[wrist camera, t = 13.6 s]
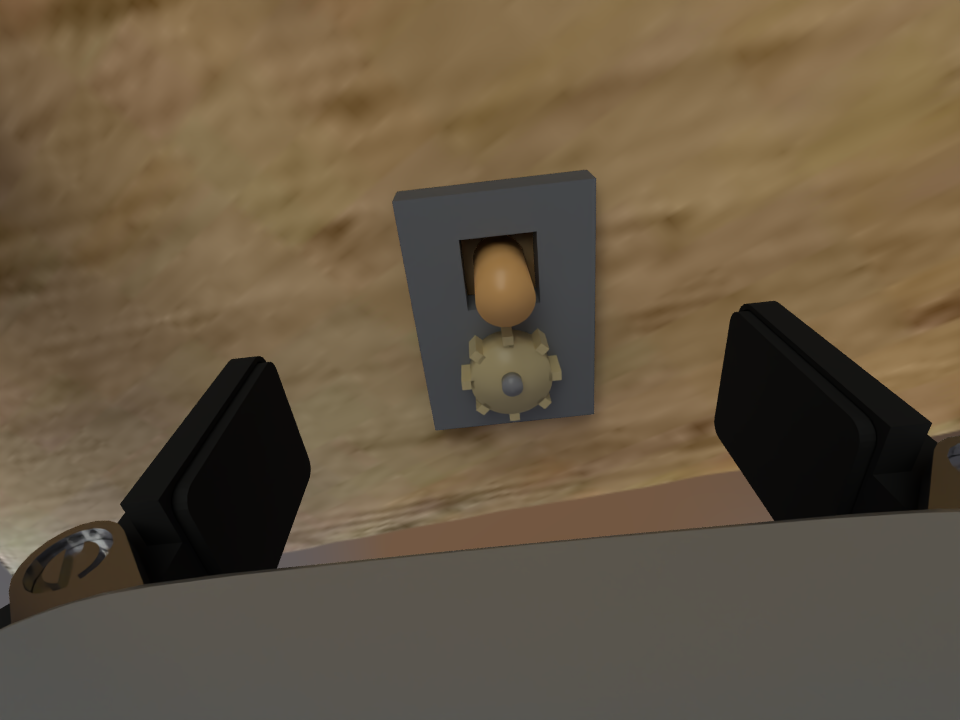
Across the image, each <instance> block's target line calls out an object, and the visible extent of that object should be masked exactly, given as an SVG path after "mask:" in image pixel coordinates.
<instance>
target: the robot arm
mask: <svg viewBox="0 0 960 720" xmlns="http://www.w3.org/2000/svg"><path fill="white" fill-rule="evenodd" d="M714 424H715V430H716V433H717V435H718V437H719V439H720V440H721V442H722V443H723V445H724V446H725V448H726V449H727V451H728V452H729V454H730V455H731V457H732V458H733V460H734V461H735V463H736V464H737V466H738V467H739V469H740V470H741V472H742V473H743V475H744V476H745V477H746V479H747V481H748V482H749V484H750V485H751V487H752V488H753V490H754V491H755V493H756V494H757V496H758V497H759V498H760V500H761V502H762V503H763V505H764V506H765V507H766V509H767V510H768V512H769V513H770V515H771V516H772V518H773V519H774V521H769V522H758V523H747V524H735V525H724V526H713V527H702V528H691V529H680V530H669V531H658V532H646V533H635V534H624V535H614V536H603V537H592V538H582V539H572V540H561V541H550V542H540V543H529V544H519V545H509V546H498V547H488V548H477V549H467V550H457V551H446V552H436V553H426V554H416V555H406V556H397V557H387V558H377V559H367V560H357V561H348V562H338V563H328V564H318V565H308V566H298V567H288V568H278V569H277V566H278V564H279V561H280V558H281V556H282V553H283V550H284V547H285V544H286V542H287V539H288V536H289V533H290V531H291V528H292V525H293V522H294V520H295V517H296V514H297V511H298V509H299V506H300V503H301V500H302V497H303V495H304V492H305V489H306V486H307V484H308V481H309V478H310V472H311V467H310V461H309V458H308V455H307V452H306V450H305V447H304V444H303V441H302V438H301V436H300V433H299V430H298V427H297V425H296V422H295V419H294V416H293V414H292V411H291V408H290V405H289V402H288V400H287V397H286V394H285V391H284V389H283V386H282V383H281V380H280V378H279V375H278V372H277V369H276V367H275V365H274V364H273V363H272V362H266V361H265V359H264V358H263V357H261V356H257V357H247V358H238V359H231V360H230V361H229V362H228V363H227V365H226V366H225V367H224V369H223V370H222V371H221V372H220V374H219V375H218V376H217V378H216V379H215V380H214V382H213V383H212V384H211V386H210V387H209V388H208V390H207V391H206V392H205V393H204V395H203V396H202V397H201V399H200V400H199V401H198V403H197V404H196V405H195V407H194V408H193V409H192V410H191V412H190V413H189V414H188V416H187V417H186V418H185V420H184V421H183V422H182V424H181V425H180V426H179V428H178V429H177V430H176V431H175V433H174V434H173V435H172V437H171V438H170V439H169V441H168V442H167V443H166V445H165V446H164V447H163V449H162V450H161V451H160V452H159V454H158V455H157V456H156V458H155V459H154V460H153V462H152V463H151V464H150V466H149V467H148V468H147V469H146V471H145V472H144V473H143V475H142V476H141V477H140V479H139V480H138V481H137V483H136V484H135V485H134V487H133V488H132V489H131V490H130V492H129V493H128V494H127V496H126V497H125V498H124V500H123V501H122V502H121V504H120V505H121V506H122V508H123V510H124V511H125V514H124V515H123V516H122V518H121V519H120V520H119V522H118V523H115V522H112V521H94V522H90V523H86V524H82V525H79V526H77V527H74V528H72V529H70V530H67V531H65V532H63V533H61V534H59V535H58V536H56V537H54V538H52V539H51V540H49V541H47V542H46V543H45V544H43V545H42V546H41V547H39V548H38V549H37V550H35V551H34V552H33V553H32V554H31V555H30V556H29V557H28V558H27V559H26V560H25V561H24V562H23V563H22V564H21V565H20V566H19V568H18V569H17V571H16V572H15V574H14V576H13V577H12V579H11V583H10V588H9V599H10V604H8V605H6V606H5V607H3V608H1V609H0V720H960V436H955V437H948V438H946V439H944V440H942V441H940V442H938V443H937V442H936V441H935V440H933V439H932V438H931V437H930V436H928V435H927V434H928V431H929V429H930V427H931V424H932V423H931V422H930V421H929V420H928V419H926V418H925V417H924V416H923V415H921V414H920V413H919V412H917V411H916V410H915V409H914V408H912V407H911V406H910V405H908V404H907V403H906V402H905V401H903V400H902V399H901V398H900V397H898V396H897V395H896V394H894V393H893V392H892V391H891V390H889V389H888V388H887V387H885V386H884V385H883V384H882V383H880V382H879V381H878V380H877V379H875V378H874V377H873V376H871V375H870V374H869V373H868V372H866V371H865V370H864V369H862V368H861V367H860V366H859V365H857V364H856V363H855V362H854V361H852V360H851V359H850V358H848V357H847V356H846V355H845V354H843V353H842V352H841V351H839V350H838V349H837V348H836V347H834V346H833V345H832V344H831V343H829V342H828V341H827V340H825V339H824V338H823V337H822V336H820V335H819V334H818V333H817V332H815V331H814V330H813V329H811V328H810V327H809V326H808V325H806V324H805V323H804V322H802V321H801V320H800V319H799V318H797V317H796V316H795V315H794V314H792V313H791V312H790V311H788V310H787V309H786V308H785V307H783V306H782V305H781V304H779V303H778V302H776V301H768V302H759V303H750V304H744V305H742V306H741V308H740V310H739V312H734V313H733V314H732V316H731V319H730V324H729V330H728V337H727V343H726V349H725V356H724V362H723V368H722V375H721V381H720V387H719V394H718V400H717V406H716V413H715V420H714Z"/></svg>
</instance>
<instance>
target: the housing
mask: <svg viewBox="0 0 960 720" xmlns="http://www.w3.org/2000/svg"><path fill="white" fill-rule="evenodd" d="M392 204H393V209H394V214H395V219H396V225H397V230H398V235H399V240H400V246H401V251H402V256H403V262H404V267H405V272H406V277H407V283H408V288H409V293H410V298H411V304H412V309H413V314H414V320H415V325H416V330H417V335H418V341H419V346H420V351H421V356H422V362H423V367H424V372H425V378H426V383H427V388H428V393H429V399H430V404H431V409H432V414H433V420H434V425H435V430H444V429H453V428H463V427H473V426H483V425H493V424H502V423H512V422H522V421H532V420H541V419H551V418H561V417H571V416H581V415H590V414H594V348H595V236H596V178H595V177H594V176H593V175H592V174H591V173H590V172H589V171H588V170H581V171H572V172H563V173H555V174H546V175H537V176H529V177H520V178H511V179H503V180H494V181H486V182H477V183H468V184H460V185H451V186H442V187H434V188H425V189H416V190H408V191H399V192H397V193H396V195H395V197H394V199H393V201H392ZM527 232H533V251H534V269H535V288H534V290H535V294H536V302H535V307H534V309H533V311H532V313H531V314H530V316H529V317H528V318H527V319H526V320H524V321H523V322H521V323H520V324H518V325H515V326H512V327H498V326H494V325H492V324H489V323H488V322H486V321H485V320H484V319H483V318H482V317H481V316H480V314H479V313H478V311H477V308H476V304H475V294H474V295H467V287H466V279H465V271H464V264H463V256H462V248H461V240H465V239H474V238H482V237H491V236H500V235H509V234H518V233H527Z"/></svg>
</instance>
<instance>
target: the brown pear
mask: <svg viewBox="0 0 960 720" xmlns="http://www.w3.org/2000/svg"><path fill="white" fill-rule="evenodd" d="M473 265H474V284H475V304H476V308H477V311H478V313H479V314H480V316H481V317H482V318H483V319H484V320H485V321H486V322H488V323H489V324H492V325H494V326H498V327H512V326H515V325H518V324H520V323H521V322H523V321H524V320H526V319H527V318H528V317H529V316H530V314H531V313H532V311H533V309H534V307H535V302H536V294H535V290H534V287H533V283H532V280H531V277H530V274H529V270H528V267H527V264H526V261H525V257H524V254H523V251H522V248H521V246H520V245H519V243H518V242H517V241H516V240H515V239H513V238H512V237H510V236H507V235H500V236H491V237H486V238H485V239H483V240H482V241H481V242H480V243H479V244H478V245H477V247H476V249H475V251H474V255H473Z"/></svg>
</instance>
